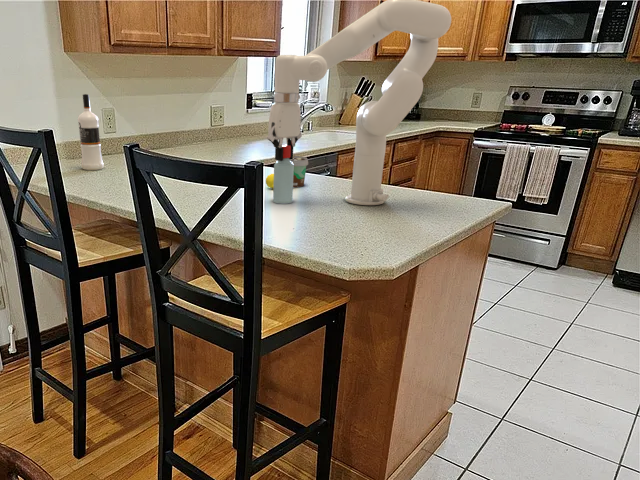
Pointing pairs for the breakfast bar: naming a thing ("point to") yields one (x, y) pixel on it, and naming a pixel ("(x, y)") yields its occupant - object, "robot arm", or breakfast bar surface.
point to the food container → (299, 170)
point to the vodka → (89, 138)
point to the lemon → (270, 181)
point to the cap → (286, 151)
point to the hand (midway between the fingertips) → (283, 159)
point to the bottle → (283, 181)
